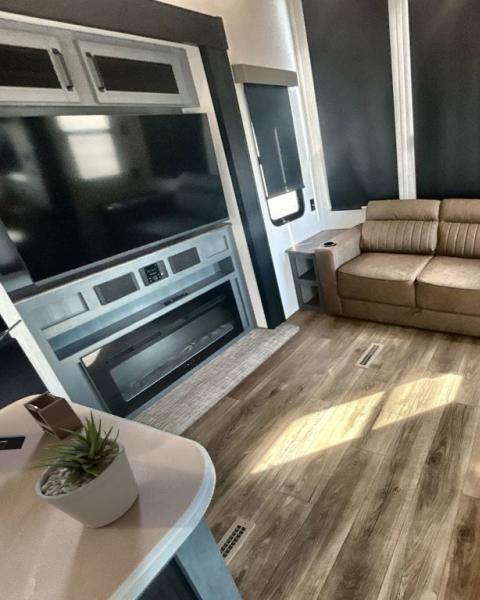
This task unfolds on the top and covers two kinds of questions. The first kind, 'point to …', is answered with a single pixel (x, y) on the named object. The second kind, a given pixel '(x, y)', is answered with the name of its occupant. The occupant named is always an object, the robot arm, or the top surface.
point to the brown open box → (53, 415)
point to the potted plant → (89, 478)
